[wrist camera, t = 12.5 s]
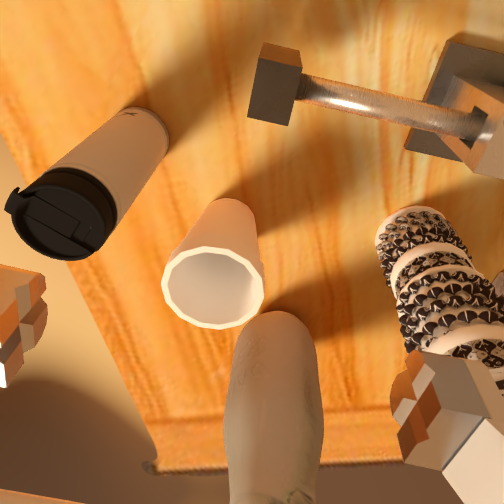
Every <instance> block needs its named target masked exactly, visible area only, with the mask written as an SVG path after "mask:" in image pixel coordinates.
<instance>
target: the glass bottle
mask: <svg viewBox="0 0 504 504" xmlns="http://www.w3.org/2000/svg"><path fill="white" fill-rule="evenodd" d="M223 434H224V446H225V452H226V457H227V462H228V469H229V485H230V504H315V489H316V478H317V473H318V469H319V463H320V457H321V450H322V444H323V436H324V419H323V408H322V400H321V392H320V385H319V376H318V365H317V355H316V349H315V345H314V342H313V340H312V337H311V335H310V332H309V330H308V329H307V327H306V326H305V324H303V323H302V322H301V321H300V320H299V319H298V318H297V317H296V316H295V315H292V314H290V313H288V312H284V311H271V312H267V313H263V314H260V315H258V316H256V317H255V318H253V319H252V320H251V321H250V322H249V323H248V324H247V325H246V326H245V327H244V328H243V330H242V331H241V333H240V335H239V337H238V340H237V342H236V346H235V350H234V355H233V361H232V368H231V374H230V381H229V387H228V392H227V398H226V405H225V413H224V422H223Z"/></svg>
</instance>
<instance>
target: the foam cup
mask: <svg viewBox="0 0 504 504" xmlns="http://www.w3.org/2000/svg"><path fill="white" fill-rule="evenodd" d="M161 286H162V290H163V294H164V297H165V301H166V303H167V304H168V305H169V306H170V307H171V308H172V309H173V311H174V312H175V313H176V314H177V315H178V316H179V317H180V318H182V319H184V320H186V321H188V322H190V323H192V324H194V325H196V326H198V327H204V328H212V329H220V330H221V329H225V328H230V327H234V326H239V325H242V324H243V323H244V322H246V321H247V320H248V319H250V318H251V317H253V316H254V315H255V314H257V311H258V309H259V307H260V305H261V303H262V301H263V299H264V293H265V276H264V267H263V263H262V261H261V260H260V253H259V245H258V238H257V231H256V224H255V218H254V214H253V213H252V211H251V210H250V208H249V207H248V206H247V205H246V204H244V203H242V202H241V201H239V200H237V199H231V198H222V199H218V200H215V201H213V202H211V203H210V204H209V205H208V206H207V207H206V208H205V209H204V210H203V212H202V213H201V215H200V216H199V217H198V219H197V220H196V222H195V223H194V225H193V226H192V227H191V229H190V230H189V232H188V233H187V235H186V236H185V237H184V239H183V240H182V242H181V243H180V245H179V246H178V247H177V248H175V249H174V250H173V251H172V253H171V255H170V258H169V260H168V262H167V265H166V268H165V271H164V274H163V278H162V281H161Z"/></svg>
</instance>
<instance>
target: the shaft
mask: <svg viewBox="0 0 504 504" xmlns="http://www.w3.org/2000/svg"><path fill="white" fill-rule="evenodd" d="M302 68H303V67H302V62H301V57H300V52H299V51H298V50H294V49H290V48H285V47H281V46H277V45H273V44H268V43H263V46H262V49H261V52H260V55H259V59H258V64H257V69H256V74H255V79H254V84H253V89H252V94H251V99H250V104H249V109H248V114H247V117H249V118H254V119H258V120H262V121H267V122H271V123H276V124H280V125H285V126H288V124H289V120H290V116H291V112H292V108H293V104H294V100H296V101H300V102H305V103H309V104H313V105H318V106H322V107H326V108H331V109H335V110H339V111H344V112H348V113H352V114H357V115H361V116H365V117H370V118H374V119H379V120H383V121H387V122H392V123H396V124H400V125H405V126H409V127H413V128H418V129H422V130H426V131H431V132H435V133H440V134H444V135H448V136H453V137H457V138H461V139H466V140H470V141H474V142H475V141H476V139H477V137H478V135H479V133H480V131H481V129H482V127H483V125H484V123H485V121H486V119H487V116H483V115H479V114H474V113H470V112H466V111H461V110H457V109H453V108H449V107H444V106H440V105H436V104H431V103H427V102H423V101H419V100H414V99H410V98H406V97H401V96H397V95H393V94H389V93H384V92H380V91H376V90H371V89H367V88H363V87H359V86H354V85H350V84H346V83H341V82H337V81H333V80H329V79H324V78H320V77H316V76H311V75H307V74H303V73H301V72H302Z"/></svg>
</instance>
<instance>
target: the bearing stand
mask: <svg viewBox="0 0 504 504" xmlns="http://www.w3.org/2000/svg"><path fill="white" fill-rule="evenodd" d="M422 101H423V102H427V103H431V104H436V105H440V106H444V107H449V108H453V109H457V110H461V111H466V112H470V113H474V114H479V115H483V116H487V119H486V121H485V123H484V125H483V127H482V129H481V131H480V133H479V135H478V137H477V139H476V141H475V142H474V141H470V140H466V139H461V138H457V137H453V136H448V135H444V134H440V133H435V132H431V131H426V130H422V129H418V128H413V127H411V130H410V132H409V134H408V137H407V139H406V142H405V144H404V147H405V149H406V150H411V151H415V152H420V153H424V154H428V155H433V156H437V157H442V158H446V159H450V160H455V161H459V162H464V163H465V164H466V165H467V167H468V168H469V169H470V170H471V171H472V172H473V173H477V174H481V175H486V176H490V177H494V178H499V179H503V180H504V54H501V53H497V52H493V51H489V50H484V49H480V48H476V47H472V46H468V45H464V44H460V43H455V42H451V41H446V44H445V46H444V49H443V51H442V53H441V56H440V58H439V61H438V63H437V66H436V68H435V71H434V73H433V76H432V78H431V80H430V83H429V85H428V88H427V90H426V93H425V95H424V98H423V100H422Z"/></svg>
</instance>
